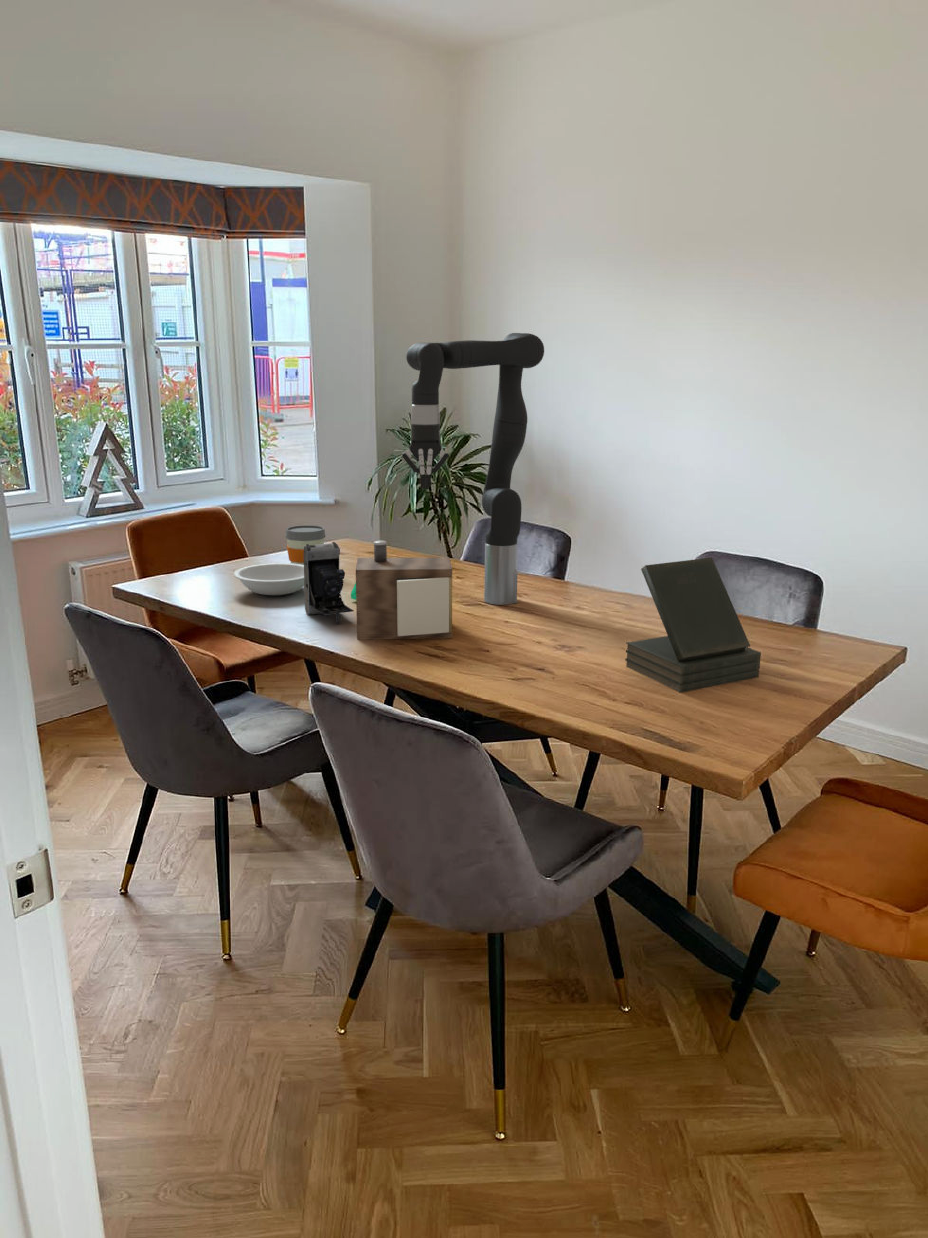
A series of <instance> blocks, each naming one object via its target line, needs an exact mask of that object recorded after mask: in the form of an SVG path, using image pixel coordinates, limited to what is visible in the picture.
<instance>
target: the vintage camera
mask: <svg viewBox="0 0 928 1238" xmlns="http://www.w3.org/2000/svg"><path fill="white" fill-rule="evenodd" d="M340 555H341V548H340V546H339V544H338V543H337V542H335V541H332V543H331V542H330V543H324V544H319V545H308V544H306V546H304V587H303V588H304V591H303V592H304V594H303V595H304V611H305V615H308V616H310V615H319V614H322V615H324V616H328V615H335V619H336V620H335V621H336V625H341V620H340V614H345V613H351V612H354V611H355V610H354V609H352V608H350V607H349V606H347V605H345V603H344V600H343V598H342V595H341V592H342V590H343V588H344V579H345V576H346V572H345V570H344V569H341V568H340Z"/></svg>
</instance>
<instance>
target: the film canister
mask: <svg viewBox="0 0 928 1238" xmlns="http://www.w3.org/2000/svg"><path fill="white" fill-rule="evenodd" d="M387 544H388V542H387V541H386V540H375V541H373V558H374V561H375V562H386V561H387V558H388V556H387V554H388V553H387V552H388V551H387V550H388V549H387Z"/></svg>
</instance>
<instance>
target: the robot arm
mask: <svg viewBox="0 0 928 1238" xmlns="http://www.w3.org/2000/svg"><path fill="white" fill-rule="evenodd" d="M544 355H545V346H544V343H543V341H542V339H541V338H540V337H539V336H537V335H535V334H533V333H528V332H527V333H526V332H523V333H521V332H511V333H508V334H507V335H506V336H505V337H504V338H503V340H474V339H473V340H469V339H468V340H453V341H452V340H451V341H445V342H416V343H414V344H412V345H411V346H410V347H409V348H408V350H407V351H406V356H405V357H406V359H405V360H406V362H407V364H408V366H409V367H410V368H411V369H413V370H415V371H418V372H419V374H418V379H417V380H416V381H415V382H413V384H412V385H411V411H410V444H409V447H408V448H409V449H407V450H406V451H405V452H402V454H401V457H402V458H403V459H404V461H405V462H406V463H407V465H408V466H409V467H410V469H411V470H412V471H413V472H414V473H417V474H419V475H420V476H419V483H420V484H419V485H420V487H422V490H425V489H426V490H428V489H429V487H431V486H432V475H433V474H434V473H438V471H439V470H440V468H441V467H442V466H443V465H444V464H445V463H446V461H447V460H448V458H449V457H450V455H449V452H446V451H445V450H444V449H442V447H443V446H442V445H441V438H440V437H441V433H440V431H441V429H440V427H441V426H440V425H441V422H440V421H441V417H440V416H441V415H440V414H441V413H440V412H441V411H440V401H439V400H440V393H439V391H440V389H439V388H440V384H441V381H442V376H443V372H444V369H449V370H450V369H452V370H457V369H470V368H479V367H489V366H499V369H498V371H499V372H498V374H499V375H498V389H497V398H496V408H495V414H494V420H493V429H492V436H491V437H492V438H491V446H490V454H489V462H488V463H489V464H488V469H487V474H486V479H485V483H484V488H483V492H482V496H481V506H482V510H483V512H484V513H485V514H486V515H487V516H489V517H490V528H489V530H488V531H487V532H486V533H485V535H484V580H483V581H484V584H483V585H484V588H483V589H484V592H483V595H484V596H483V597H484V599H483V600H484V602H485V604H486V603H487V604H490V605H496V606H497V605H501V606H502V605H511V604H518V570H517V568H518V566H517V563H518V561H517V560H518V558H517V557H518V538H519V535H520V532H521V523H522V522H521V521H522V500H521V497H520V495H519V493H518V492H517V491H516V490H514V489H512V488H511V482H512V473H513V470H514V469H513V468H514V466H515V464H516V461H517V460H518V458H519V456H520V454H521V451H522V450H523V447H524V444H525V440H526V434H527V427H528V410H527V407H526V404H525V400H524V397H523V391H522V378H523V371H524V369H531V368H534V367H536V366H537V365H539V364H541V362H542V360H543V358H544ZM412 455H413V457H414V458H415V460H416V461H418V462H419V463H418V465H419V467H418V466H417V465H416V464H415V463H414V462H413V460H412V459H411V458H412ZM438 455H439V460H438V461H437V462H436V463H435V465H434V466H433V461H434V460H435V459H437V457H438ZM425 462H426V471H425ZM432 466H433V467H432Z"/></svg>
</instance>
